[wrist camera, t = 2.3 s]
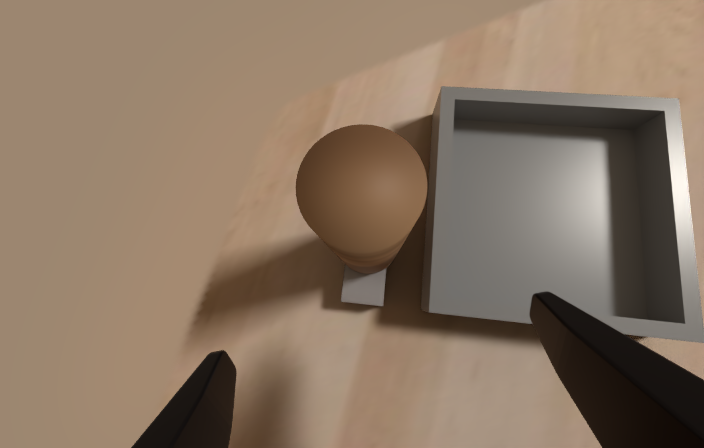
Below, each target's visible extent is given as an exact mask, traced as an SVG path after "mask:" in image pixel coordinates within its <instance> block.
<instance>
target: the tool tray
mask: <svg viewBox="0 0 704 448" xmlns="http://www.w3.org/2000/svg"><path fill="white" fill-rule="evenodd" d="M544 291H548V292H551V293H553V294H555V295H557V296H558V297H560V298H562V299H564V300H565V301H567V302H569V303H571V304H572V305H574V306H576V307H578V308H579V309H581V310H583V311H585V312H586V313H588V314H590V315H591V316H593V317H595V318H597V319H598V320H600V321H602V322H604V323H605V324H607V325H609V326H611V327H612V328H614V329H616V330H618V331H619V332H621V333H623V334H627V335H636V336H645V337H654V338H663V339H672V340H681V341H690V342H699V343H704V328H703V319H702V309H701V300H700V291H699V281H698V272H697V263H696V253H695V244H694V235H693V226H692V216H691V207H690V198H689V188H688V179H687V170H686V161H685V151H684V142H683V133H682V123H681V114H680V105H679V99H677V98H658V97H638V96H619V95H600V94H580V93H561V92H541V91H522V90H503V89H483V88H464V87H445V86H442V87H441V90H440V93H439V96H438V99H437V102H436V105H435V108H434V111H433V117H432V133H431V149H430V166H429V182H428V199H427V215H426V231H425V248H424V264H423V280H422V297H421V310H423V311H426V312H430V313H439V314H448V315H457V316H465V317H474V318H483V319H492V320H501V321H510V322H519V323H528V324H532V322H531V319H530V314H529V313H530V306H531V300H532V296H533V294H535V293H539V292H544Z"/></svg>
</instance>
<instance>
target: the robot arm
mask: <svg viewBox="0 0 704 448" xmlns="http://www.w3.org/2000/svg"><path fill="white" fill-rule="evenodd" d="M529 314H530V319H531V322H532V324H533V326H534V328H535V330H536V332H537V334H538V336H539V338H540V340H541V343H542V345H543V347H544V349H545V351H546V353H547V355H548V357H549V359H550V361H551V363H552V365H553V367H554V369H555V371H556V373H557V375H558V376H559V378H560V380H561V381H562V383H563V385H564V386H565V388H566V390H567V391H568V393H569V394H570V396H571V398H572V399H573V401H574V403H575V404H576V406H577V407H578V409H579V411H580V412H581V414H582V416H583V417H584V419H585V420H586V422H587V424H588V425H589V427H590V428H591V430H592V432H593V433H594V435H595V437H596V438H597V440H598V441H599V443H600V445H601V446H602V448H704V380H703V379H701V378H699V377H698V376H696V375H694V374H693V373H691V372H689V371H687V370H686V369H684V368H682V367H680V366H679V365H677V364H675V363H673V362H672V361H670V360H668V359H666V358H665V357H663V356H661V355H659V354H658V353H656V352H654V351H652V350H651V349H649V348H647V347H645V346H644V345H642V344H640V343H639V342H637V341H635V340H633V339H632V338H630V337H628V336H626V335H625V334H623V333H621V332H619V331H618V330H616V329H614V328H612V327H611V326H609V325H607V324H605V323H604V322H602V321H600V320H598V319H597V318H595V317H593V316H591V315H590V314H588V313H586V312H585V311H583V310H581V309H579V308H578V307H576V306H574V305H572V304H571V303H569V302H567V301H565V300H564V299H562V298H560V297H558V296H557V295H555V294H553V293H551V292H548V291H544V292H539V293H535V294H533V296H532V300H531V306H530V313H529ZM235 384H236V368H235V365H234V364H233V362H232V360H231V359H230V357H229V356H228V354H227V353H226V351H224V350H221V351H216V352H211V353H210V354H208V355H207V357H206V358H205V359H204V360H203V361H202V363H201V364H200V365H199V366H198V368H197V369H196V370H195V371H194V372H193V374H192V375H191V376H190V377H189V378H188V380H187V381H186V382H185V383H184V384H183V386H182V387H181V388H180V389H179V391H178V392H177V393H176V394H175V395H174V397H173V398H172V399H171V400H170V401H169V403H168V404H167V405H166V406H165V407H164V409H163V410H162V411H161V412H160V414H159V415H158V416H157V417H156V418H155V420H154V421H153V422H152V423H151V424H150V426H149V427H148V428H147V429H146V431H145V432H144V433H143V434H142V435H141V437H140V438H139V439H138V440H137V441H136V443H135V444H134V445H133V446H132V447H131V448H228V445H229V440H230V434H231V428H232V419H233V408H234V396H235Z"/></svg>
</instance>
